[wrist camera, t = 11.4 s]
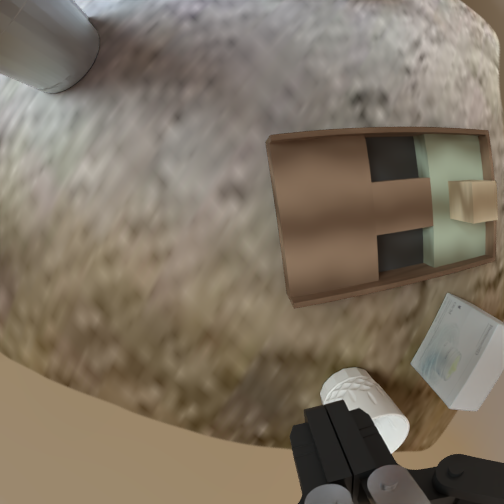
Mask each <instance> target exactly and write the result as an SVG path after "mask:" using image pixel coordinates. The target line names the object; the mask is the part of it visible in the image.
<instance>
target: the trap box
mask: <svg viewBox="0 0 504 504" xmlns="http://www.w3.org/2000/svg"><path fill="white" fill-rule="evenodd" d="M265 143H266V149H267V155H268V162H269V168H270V175H271V181H272V188H273V195H274V202H275V209H276V216H277V223H278V230H279V237H280V245H281V252H282V260H283V267H284V275H285V283H286V291H287V295H288V297H289V299H290V301H291V303H292V305H293V307H294V308H300V307H305V306H311V305H316V304H321V303H326V302H331V301H336V300H341V299H346V298H350V297H355V296H360V295H364V294H369V293H373V292H378V291H382V290H387V289H391V288H395V287H399V286H404V285H408V284H412V283H416V282H420V281H424V280H428V279H432V278H436V277H440V276H443V275H447V274H451V273H455V272H458V271H462V270H465V269H469V268H472V267H476V266H479V265H483V264H486V263H490V262H493V261H495V257H496V220H493V221H487V222H481V223H475V224H473V223H468V222H463V221H459V220H454V219H450V204H449V189H448V181H459V180H489V181H494V171H493V161H492V153H491V145H490V138H489V132H488V130H476V129H462V128H441V127H367V128H345V129H329V130H316V131H304V132H294V133H284V134H275V135H270V136H269V138H268V139H267V140H266V142H265Z"/></svg>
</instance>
